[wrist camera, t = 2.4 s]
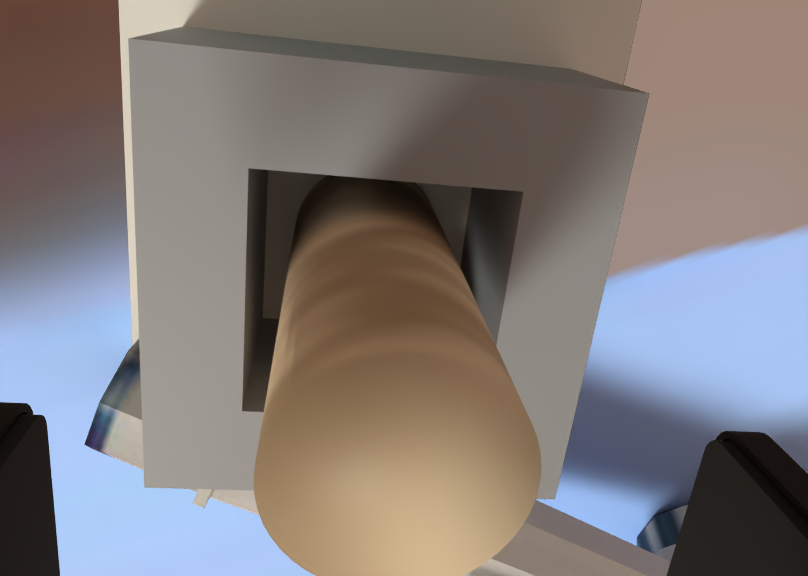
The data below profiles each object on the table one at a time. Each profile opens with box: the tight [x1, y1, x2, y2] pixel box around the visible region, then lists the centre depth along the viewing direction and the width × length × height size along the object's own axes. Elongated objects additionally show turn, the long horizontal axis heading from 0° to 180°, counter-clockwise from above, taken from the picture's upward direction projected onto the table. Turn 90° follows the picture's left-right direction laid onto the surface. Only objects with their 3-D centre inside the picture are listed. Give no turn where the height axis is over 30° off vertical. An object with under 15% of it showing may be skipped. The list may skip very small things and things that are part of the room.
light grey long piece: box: [85, 339, 688, 576], centre depth 23 cm, size 5×7×25 cm
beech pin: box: [253, 175, 541, 576], centre depth 15 cm, size 4×4×11 cm
